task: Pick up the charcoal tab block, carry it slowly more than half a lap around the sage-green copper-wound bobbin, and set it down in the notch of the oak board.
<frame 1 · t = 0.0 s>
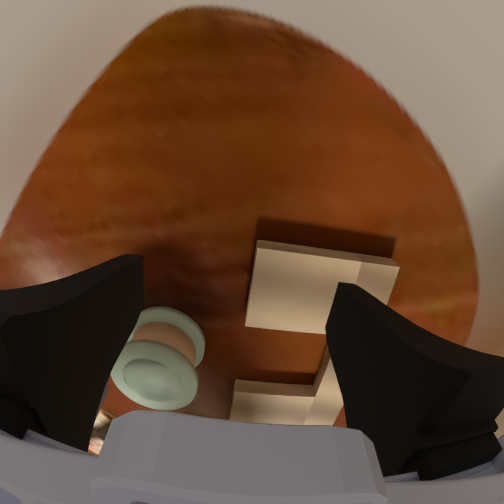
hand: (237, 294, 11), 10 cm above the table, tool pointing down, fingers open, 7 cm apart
notched board: (300, 355, 25), on the table
bobbin: (166, 339, 25), on the table
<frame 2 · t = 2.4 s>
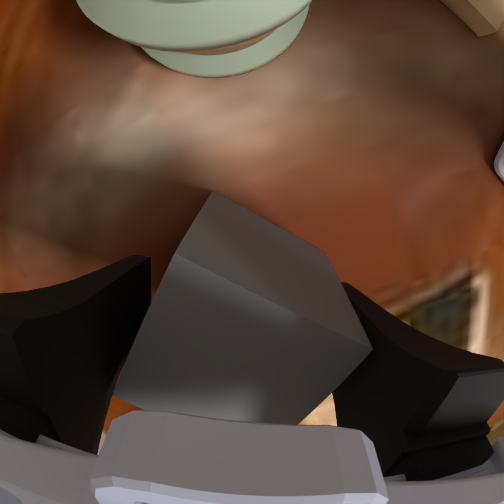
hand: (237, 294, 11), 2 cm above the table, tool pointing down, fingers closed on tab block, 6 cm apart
tab block: (239, 274, 13), on the table, touching gripper
bobbin: (218, 1, 9), on the table
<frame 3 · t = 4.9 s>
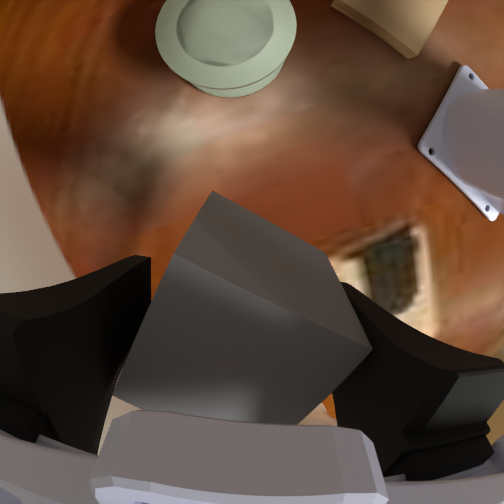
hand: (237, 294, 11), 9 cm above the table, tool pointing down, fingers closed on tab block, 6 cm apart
lightbulb: (299, 380, 26), on the table
tab block: (239, 274, 13), point 8 cm above the table, touching gripper
bobbin: (231, 48, 16), on the table
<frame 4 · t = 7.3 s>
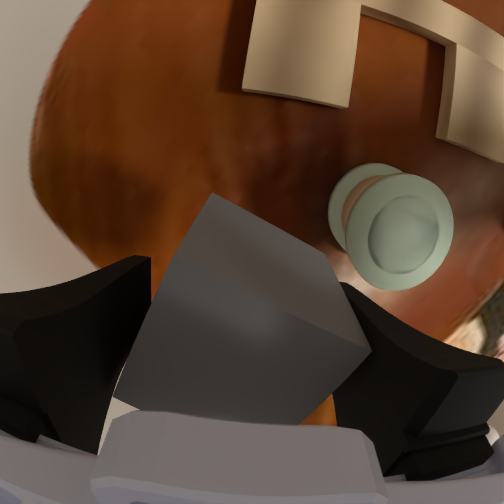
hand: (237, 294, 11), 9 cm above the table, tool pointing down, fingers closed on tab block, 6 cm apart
notched board: (401, 53, 16), on the table
tab block: (239, 275, 13), point 8 cm above the table, touching gripper
bobbin: (373, 210, 20), on the table
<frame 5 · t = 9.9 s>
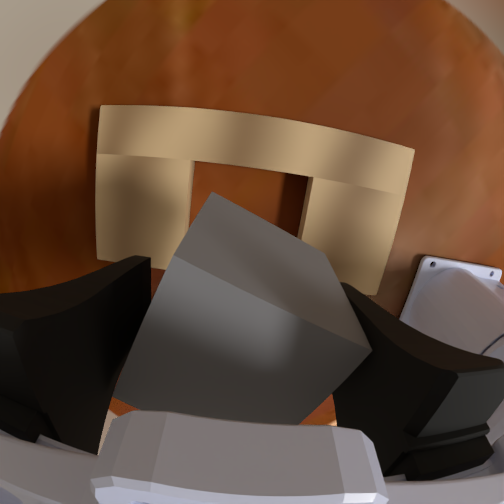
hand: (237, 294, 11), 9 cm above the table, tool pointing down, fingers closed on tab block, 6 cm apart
notched board: (247, 196, 19), on the table
tab block: (239, 275, 13), point 8 cm above the table, touching gripper
when the fingers open (3 cm above the table, at t = 12.0 s): tab block drops 2 cm, on the table.
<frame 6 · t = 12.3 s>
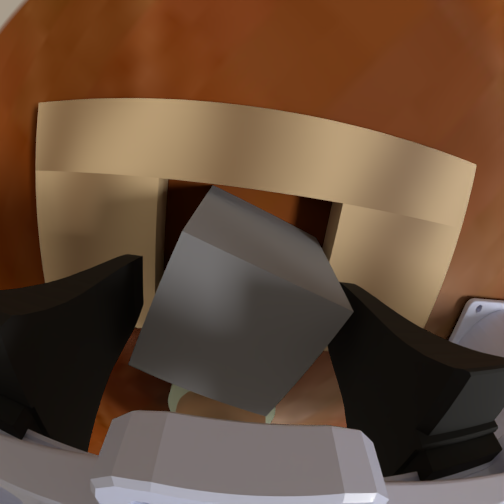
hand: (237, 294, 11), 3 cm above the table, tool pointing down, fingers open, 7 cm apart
notched board: (245, 227, 14), on the table
tab block: (239, 259, 14), on the table
bobbin: (222, 400, 18), on the table
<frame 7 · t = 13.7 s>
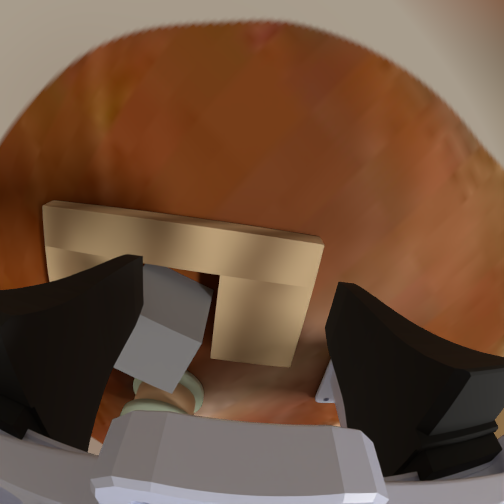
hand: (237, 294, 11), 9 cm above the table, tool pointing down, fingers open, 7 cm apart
notched board: (170, 283, 22), on the table
tab block: (168, 300, 22), on the table
bobbin: (169, 388, 26), on the table
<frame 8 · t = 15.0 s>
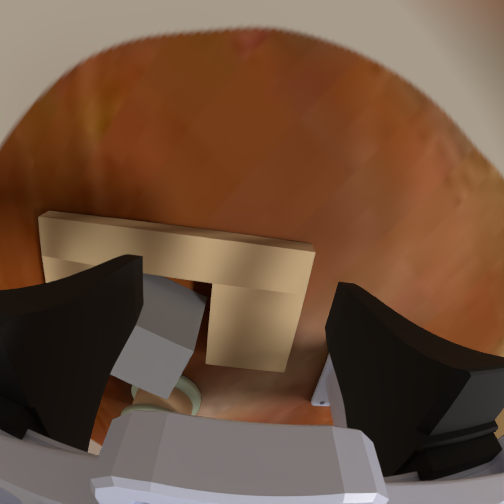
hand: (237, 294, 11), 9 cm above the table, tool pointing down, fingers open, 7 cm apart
notched board: (164, 291, 22), on the table
tab block: (163, 308, 23), on the table
bobbin: (166, 393, 26), on the table
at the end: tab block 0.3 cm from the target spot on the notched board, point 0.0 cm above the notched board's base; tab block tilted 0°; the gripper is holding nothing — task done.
